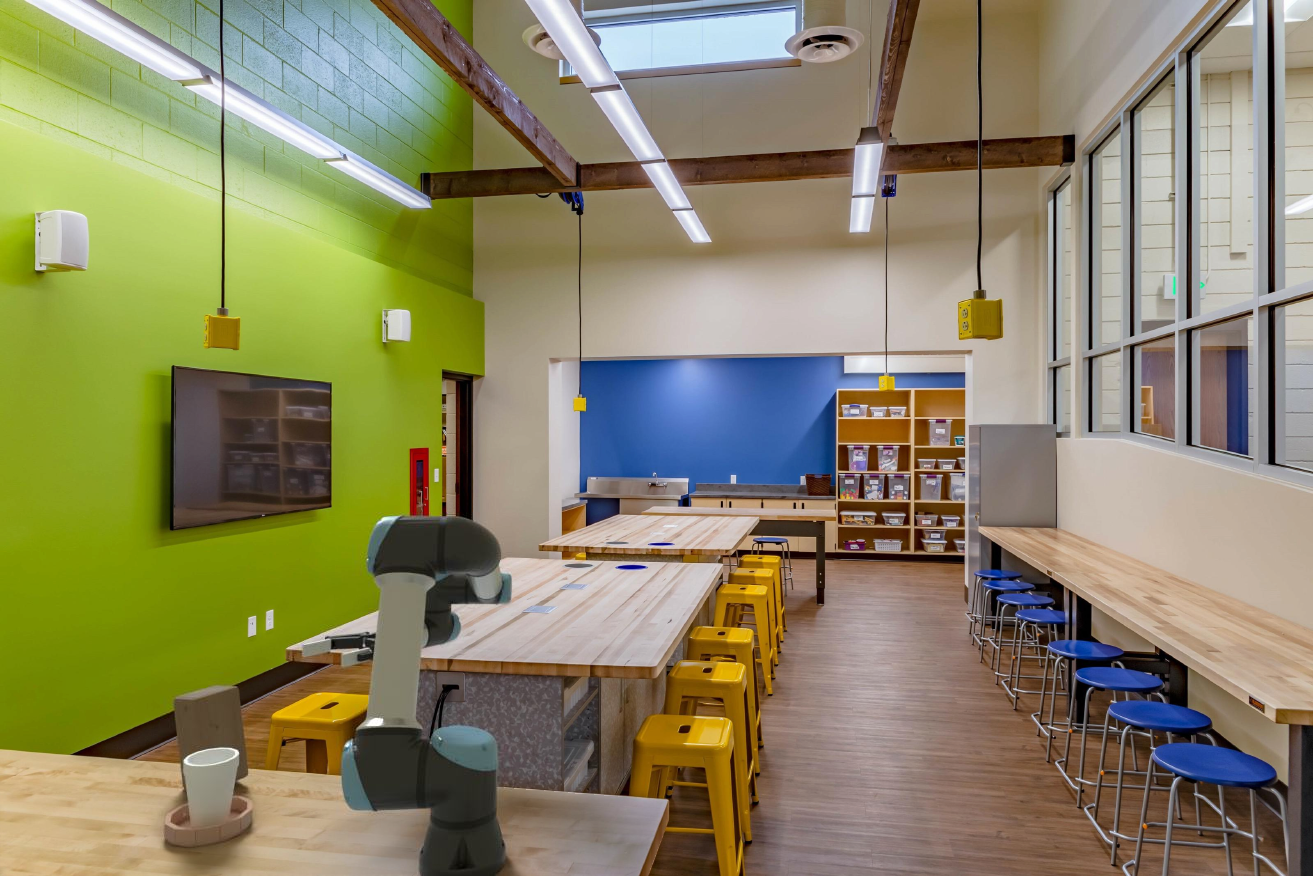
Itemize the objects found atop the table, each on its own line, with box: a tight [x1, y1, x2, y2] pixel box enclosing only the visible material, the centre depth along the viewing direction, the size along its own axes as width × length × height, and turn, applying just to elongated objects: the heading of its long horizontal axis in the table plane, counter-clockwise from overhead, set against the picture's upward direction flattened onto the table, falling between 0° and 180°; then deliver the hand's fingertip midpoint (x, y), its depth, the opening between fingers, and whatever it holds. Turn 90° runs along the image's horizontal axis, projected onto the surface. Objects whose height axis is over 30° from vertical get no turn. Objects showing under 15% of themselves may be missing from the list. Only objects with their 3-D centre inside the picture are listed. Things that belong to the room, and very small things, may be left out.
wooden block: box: [172, 684, 249, 790], centre depth 173 cm, size 10×10×20 cm
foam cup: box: [183, 748, 239, 828], centre depth 154 cm, size 10×9×13 cm
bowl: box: [163, 795, 253, 848], centre depth 154 cm, size 15×15×3 cm
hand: (322, 655), depth 169 cm, fingers open, 13 cm apart
